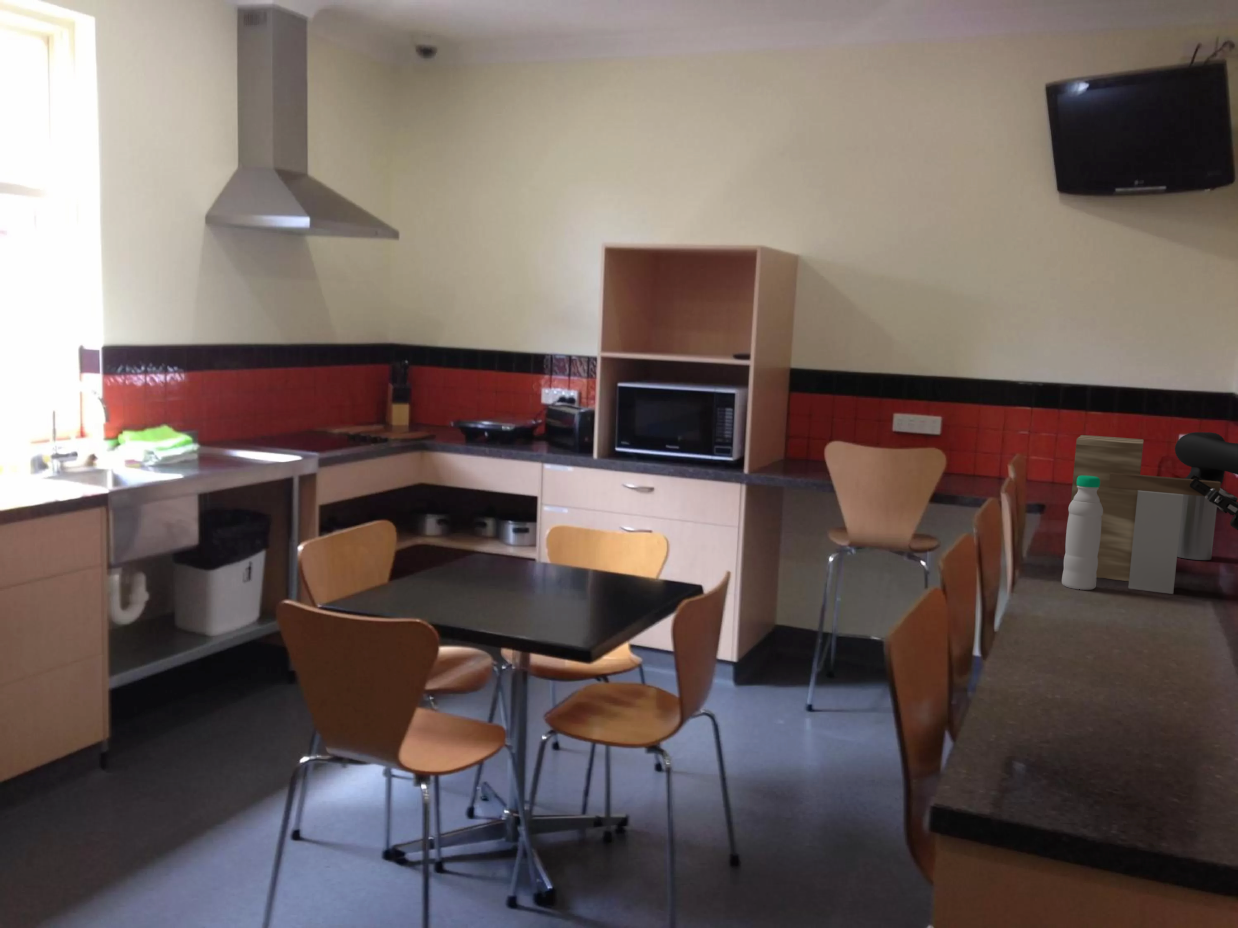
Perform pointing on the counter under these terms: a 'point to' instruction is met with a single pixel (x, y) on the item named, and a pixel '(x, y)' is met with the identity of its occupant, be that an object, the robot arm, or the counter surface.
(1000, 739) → the counter surface
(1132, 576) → the riser block
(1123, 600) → the counter surface
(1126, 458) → the wooden open box
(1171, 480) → the batten
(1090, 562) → the white bottle
